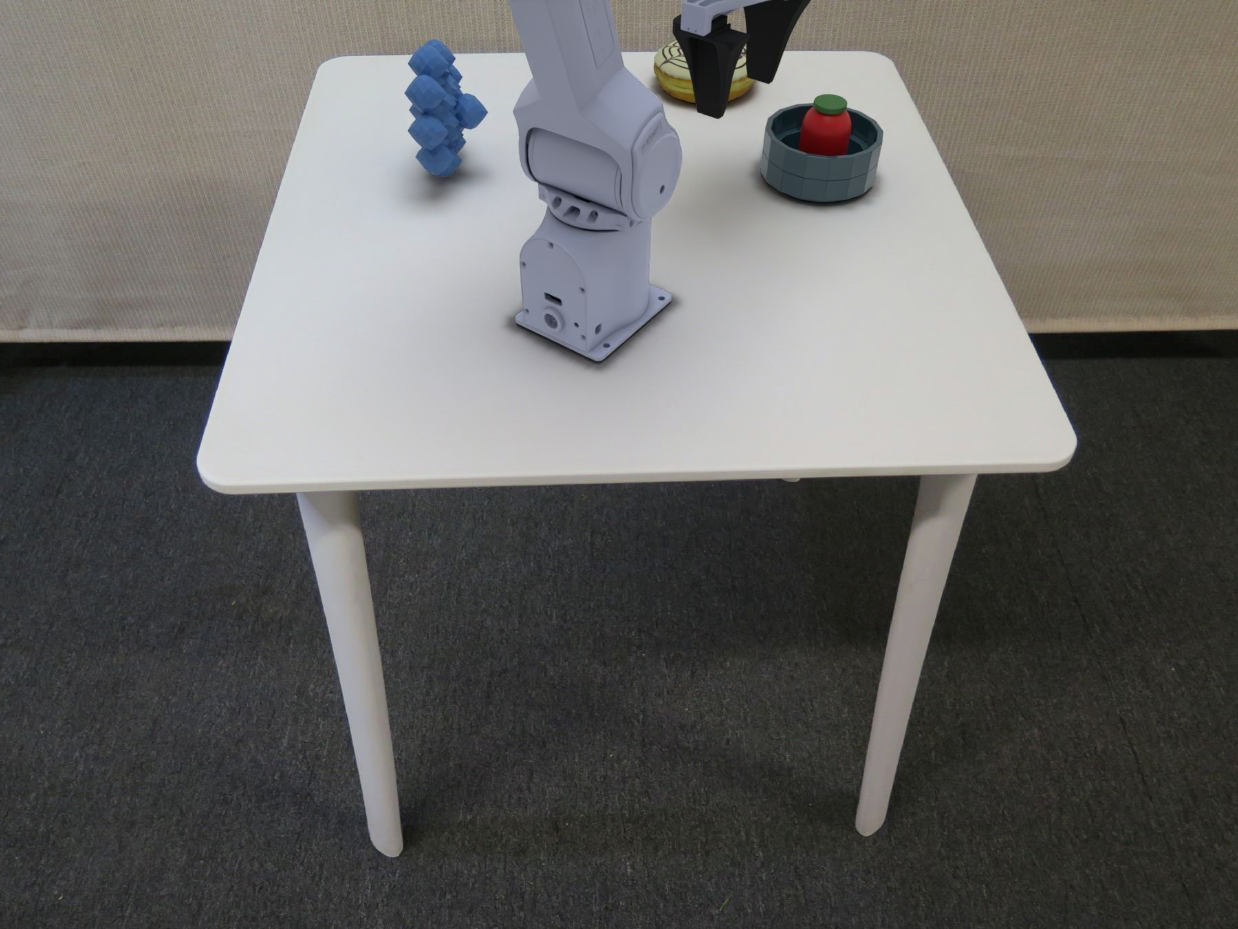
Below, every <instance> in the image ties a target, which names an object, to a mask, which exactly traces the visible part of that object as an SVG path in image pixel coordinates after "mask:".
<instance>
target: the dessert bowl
mask: <svg viewBox="0 0 1238 929" xmlns="http://www.w3.org/2000/svg"><path fill="white" fill-rule="evenodd" d="M813 103H814V102H807V103H796V104H793V105H790V106H786V107H782V108H779V109H778V110H776V111H775V112H774V113H773V114H771V115H770V116H768V117H767V120H766V124H765V127H764V132H763V133H764V134H763V143H762V150H761V157H760V158H761V159H760V167H759V170H760V173H761V174H762V176H763V179H764V180H765V182H766V183H767V184H768V185H770V186H771V187H773V188H774V189H776V191H778V192H781V193H782V194H785V195H787V196H789V197H791V198H795V199H798V200H801V201H805V202H813V203H814V202H815V203H834V202H842V201H847V200H851V199H853V198H856V197H859V196H861V195H864V194H865V193H866V192H867V191H868V190H869V189H870V188H871V187H872V186H873V185H874V183H875V178H876V174H877V171H878V170H877V169H878V165H879V161H880V156H881V151H882V146H883V142H884V130H883V129H882V127H881V126H880V124H879V123H878V121H876V119H874V118H872V117H871V116H869V115H867V114H865V113H864V112H862V111H861V110H857V109H854V108H851V107H848V106H847V109H846V111H847V112H848V114H849V116H850V119H851V133H850V138H849V144H848V149H847V154H846V155H842V156H823V155H815V154H808V153H805V152H802V151H799V150H798V147H799V141H800V134H801V127H802V122H803V119H804V117H805V115H806V113H807V112H808V111H809V110H810V109H811V108H812V107H813Z"/></svg>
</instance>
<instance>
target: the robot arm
mask: <svg viewBox="0 0 1238 929" xmlns="http://www.w3.org/2000/svg"><path fill="white" fill-rule="evenodd" d="M506 1H507V3H508V7H509V10H510V13H511V16H512V19H513V22H514V25H515V28H516V32H517V34H518V37H519V40H520V42H521V46H522V49H523V52H524V54H525V58H526V60H527V64H528V66H529V69H530V72H531V75H532V78H531V79H530V80H529V81H528V83H527V84H526V85H525V86H524V88H523V89H522V92H521V93H519V94H520V95H519V96H518V99H517V101H516V102H515V105H514V107H513V108H512V114H513V117H514V120H515V122H516V126H517V131H518V157H519V164H520V167H521V169H522V172H523V173H524V175H525V176H526V178H527V179H529V180H530V181H532V182H534V183H537V188H538V189H537V190H538V199H539V200H540V201H541V202H544V203H545V204H546V205H547V206H546V210H545V214H544V216H543V218H542V221H541V223H540V225H539V226H538V227H537V229H536V230H535V232H534V233H532V235H531V236H530V237H529V238H528V239H526V241H525V242H524V244H523V245H522V246H521V249H520V251H519V258H518V259H519V260H518V262H519V275H520V289H521V302H522V303H521V304H522V310H521V311H519V312H518V313H517V314H516V315H515V316H514V321H515V323H516V324H517V325H519V326H522V327H523V328H525V329H527V330H530V331H532V332H534V333H536V334H538V335H541V336H542V337H544V338H546V339H548V340H550V341H552V342H555V343H557V344H559V345H561V346H564V347H566V348H567V349H569V350H571V351H574V352H576V353H577V354H580V355H581V356H584V357H586V358H588V359H591V360H592V361H595V362H601V361H604V359H606V358H607V357H608V356H609V355H611V353H613V352H614V351H616V349H617V348H619V347H620V346H621V345H622V344H623V343H625V341H627V340H628V339H629V338H630V337H631V336H633V334H635V333H636V332H637V331H638V330H639V329H640V328H642V327H643V326H644V325H645V324H647V322H649V321H650V320H651V319H652V318H653V317H654V316H656V315H657V314H658V313H659V312H660V311H661V310H662V309H664V308H665V307H666V306H667V305H668V304H669V303H670V302H672V299H673V298H672V297H673V296H672V294H671V293H670V292H668V291H667V290H664V289H662V288H659V287H658V286H655V285H653V284H651V283H650V274H651V273H650V271H651V270H650V269H651V246H652V244H651V243H652V218H653V217H654V216H655V215H657V214H658V213H659V212H660V211H662V209H663V208H664V207H665V206H666V205H667V204H668V202H669V201H670V199H671V197H672V196H673V193H674V192H675V190H676V187H677V185H678V181H679V178H680V175H681V171H682V164H683V150H682V145H681V140H680V137H679V134H678V132H677V130H676V129H675V127H673V125H671V124H670V123H669V121H668V119H667V116H666V113H665V108H664V103H663V102H662V100H661V99H660V98H659V97H657V96H656V95H655V94H654V93H653V91H652V90H650V89H649V88H648V87H647V86H646V85H645V84H643V82H642V81H640V80H639V78H637V77H636V76H635V75H634V74H633V73H632V72H631V71H630V70H629V69H628V68H627V67H626V66H625V63H624V59H623V54H622V50H621V45H620V42H619V41H620V40H619V37H618V33H617V29H616V24H615V21H614V16H613V15H614V14H613V10H612V7H611V3H610V0H506ZM811 1H812V0H683V1H682V2H681V13H680V14H679V15H677V16H675V17H674V18H673V19H672V30H671V31H672V32H671V33H672V35H673V36H674V38H675V40H677V42H678V44H679V46H680V48H681V50H682V52H683V54H684V57H685V59H686V62H687V65H688V69H689V72H690V77H691V81H692V86H693V92H694V97H695V103H694V104H695V107H696V112H697V114H700V115H703V116H707V117H710V118H713V119H716V120H720V119H721V118H723V117H724V115H725V112H726V110H727V108H728V103H729V101H728V99H729V94H730V89H731V84H732V79H733V75H734V71H735V68H736V65H737V62H738V59H739V57H740V55H741V52H742V50H743V48H744V46H746V70H747V77H748V78H750V79H753V80H755V82H760V83H763V84H765V85H770V84H772V83H773V82H774V80H775V78H776V75H777V73H778V68H779V67H780V65H781V62H782V58H783V56H784V53H785V50H786V47H787V44H788V42H789V40H790V38H791V35H792V33H793V31H794V29H795V27H796V25H797V23H798V21H799V20H800V18H801V16H802V14H804V11H805V10H806V8H807V7H808V5H809V4H810V3H811ZM741 8H743V13H744V20H745V21H744V22H745V32H744V31H740V30H738V29H733V28H732V23H731V22H729V23H728V17H729V15H730V14H732V13H734V12H736V11H737V10H739V9H741Z"/></svg>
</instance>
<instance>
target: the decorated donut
mask: <svg viewBox="0 0 1238 929" xmlns="http://www.w3.org/2000/svg"><path fill="white" fill-rule="evenodd" d="M653 72H654V75H655V78H656V81H657V82H658V84H659V85H660V87H661V88H662V90H664V91H665V92H666V93H668V94H669V95H671V97H673V98H675V99H677V100H681V101H684V102H688V103H694V104H696V103H695V97H694V92H693V86H692V81H691V77H690V72H689V69H688V65H687V62H686V59H685V57H684V54H683V52H682V50H681V48H680V46H679V44H678V42H677V40H676V39H673V40H670V41H669V42H668V43H666V44H665V45H663V46H662V47H659V49H658V50H657V52H656V53H655V55H654V61H653ZM755 82H756V80H753V79H750V78H748V77H747V70H746V45H745V46H744V48H743V50H742V52H741V55H740V57H739V59H738V62H737V65H736V68H735V71H734V75H733V79H732V84H731V89H730V94H729V99H728V102H729V101H732V100H733V101H734V100H735V99H737V98H740V97H742V96H743V95H745V94H746V93H747V92H748V91H749V90H750V89H751V87H752V86H753V85H754V83H755Z"/></svg>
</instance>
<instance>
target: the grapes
mask: <svg viewBox="0 0 1238 929" xmlns="http://www.w3.org/2000/svg"><path fill="white" fill-rule="evenodd" d="M456 60H457V59H456V56H455V55H454V54H453V52H452V50H450V48H448V47H447V45H445V43H444V42H443V41H441V40H439V39H436V38H433V39H429V40H427V41H426V42H425V43H424V44H423V45H421V46H419V47H418V48H416V50H415V51H414V52H413V54H412V55H411V57H410V59H409V60H408V62H407V65H408V66H409V68H410V69H411V71H412V72H413V73H414V74H415V76H416V77H414V78H413V79H412V81H411V82H410V83H409V85H408V86H407V88H406V89H405V90H404V95H405V97H406V99H408V101H409V102H410V103H411V105H410V107H409V109H408V111H409V112H410V114H411V115H412V116H413V118H414V120H413V122H412V123H411V124H410V126H409V127H408V129H407V133H408V134H409V135H410V136H411V138H412V139H413V140H414V141H415V143H416V144H417V145H419V146H420V147H421V148H420V149H418V152H417V153H416V155H415V158H416V160H417V161H418V163H419V164H420V165H421V167H422V168H424V170H425V171H427V172H428V173H429V174H433V175H436V176H438V177H443V178H448V177H450V176H451V175H453V173H454V172H456V170H457V169H458V168H459V166H460V165H461V163H462V162H463V160H462V158H461V157H460V156H459V152H461V150H462V149H463V148H464V146H465V145H466V144H467V140H466V139H465V138H464V133H463V132H464V130H465V129H466V130H473V129H476V128H477V127H478V126H479V125H480V124H481V123H482V122H483V121H484V119H486V116H487V115H488V113H489V111H488V110H487V109H486V107H485V106H484V105H483V103H482V102H481V101H480V100H479V99H478V97H477V96H476V95H474V94H472V93H464V92H463V91H462V90H461V88H462V86H461V85H460V83H461V81H462V80H463V75H462V74H461V73H460V71H459V70H458V69H457V67H456V66H455V65H454V63H455V61H456Z"/></svg>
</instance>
